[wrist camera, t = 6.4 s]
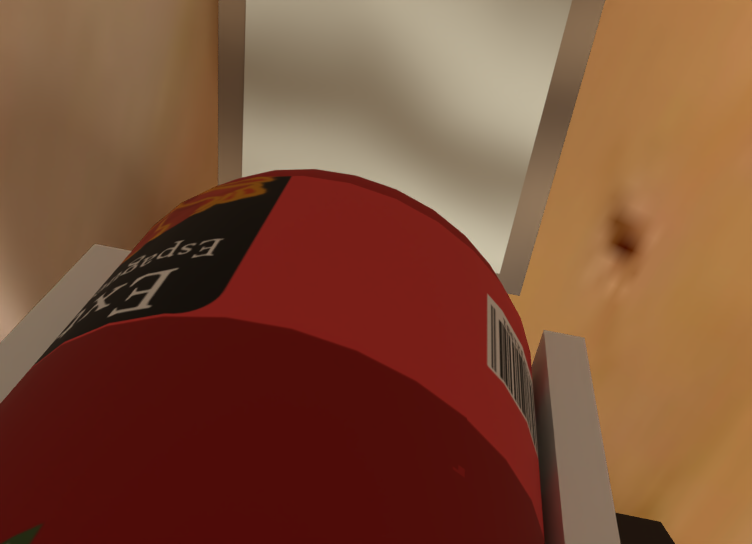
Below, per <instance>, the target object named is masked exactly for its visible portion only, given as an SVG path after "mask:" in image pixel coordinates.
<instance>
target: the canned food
mask: <svg viewBox="0 0 752 544" xmlns="http://www.w3.org/2000/svg"><path fill="white" fill-rule="evenodd" d="M0 544H545V539H544V526H543V513H542V499H541V486H540V473H539V460H538V447H537V434H536V421H535V408H534V395H533V382H532V369H531V355H530V350H529V346H528V343H527V339H526V336H525V332H524V328H523V325H522V321H521V318H520V316H519V314H518V312H517V311H516V309H515V307H514V305H513V303H512V301H511V300H510V298H509V296H508V294H507V292H506V290H505V289H504V287H503V285H502V283H501V282H500V280H499V278H498V277H497V275H496V274H495V272H494V270H493V269H492V267H491V265H490V264H489V263H488V262H487V260H486V259H485V258H484V257H483V256H482V255H481V253H480V252H479V251H478V250H477V249H476V247H475V246H474V245H473V244H472V243H471V242H470V240H469V239H468V238H467V237H466V236H465V235H464V234H463V233H462V232H460V231H459V230H458V229H457V228H456V227H454V226H453V225H452V224H451V223H449V222H448V221H447V220H446V219H444V218H443V217H442V216H441V215H439V214H438V213H437V212H436V211H435V210H433V209H431V208H430V207H428V206H426V205H424V204H422V203H420V202H419V201H417V200H415V199H413V198H411V197H410V196H408V195H406V194H404V193H402V192H401V191H399V190H397V189H394V188H391V187H388V186H385V185H382V184H380V183H377V182H374V181H371V180H368V179H365V178H362V177H359V176H356V175H350V174H344V173H337V172H331V171H325V170H318V169H295V170H273V171H268V172H264V173H260V174H255V175H251V176H246V177H242V178H238V179H235V180H232V181H230V182H227V183H224V184H221V185H219V186H216V187H214V188H212V189H210V190H208V191H205V192H203V193H201V194H199V195H197V196H195V197H193V198H191V199H189V200H187V201H184V202H182V203H181V204H179V205H178V206H177V207H176V208H175V209H173V210H172V211H171V212H170V213H169V214H167V215H166V216H165V217H164V218H162V219H161V220H160V221H159V222H158V223H156V224H155V225H154V226H153V227H152V228H151V229H150V231H149V232H148V233H147V234H146V235H145V236H144V238H143V239H142V240H141V241H140V242H139V243H138V244H137V246H136V247H135V248H134V249H133V250H132V251H131V253H130V254H129V255H128V256H127V257H126V258H125V260H124V261H123V262H122V263H121V264H120V265H119V267H118V268H117V269H116V270H115V271H114V272H113V273H112V275H111V276H110V277H109V278H108V279H107V280H106V282H105V283H104V284H103V285H102V286H101V287H100V289H99V290H98V291H97V292H96V293H95V294H94V296H93V297H92V298H91V299H90V300H89V301H88V302H87V304H86V305H85V306H84V307H83V308H82V309H81V311H80V312H79V313H78V314H77V315H76V316H75V318H74V319H73V320H72V321H71V322H70V323H69V324H68V326H67V327H66V328H65V329H64V330H63V331H62V333H61V334H60V335H59V336H58V337H57V338H56V340H55V341H54V342H53V343H52V344H51V345H50V347H49V348H48V349H47V350H46V351H45V352H44V353H43V355H42V356H41V357H40V358H39V359H38V360H37V362H36V363H35V364H34V365H33V366H32V367H31V369H30V370H29V371H28V372H27V373H26V374H25V375H24V377H23V378H22V379H21V380H20V381H19V382H18V384H17V385H16V386H15V387H14V388H13V389H12V391H11V392H10V393H9V394H8V395H7V396H6V398H5V399H4V400H3V401H2V402H1V403H0Z"/></svg>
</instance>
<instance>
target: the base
mask: <svg viewBox="0 0 752 544" xmlns="http://www.w3.org/2000/svg"><path fill="white" fill-rule="evenodd" d="M604 3H605V0H219V25H218V186H219V185H221V184H224V183H227V182H230V181H232V180H235V179H238V178H242V177H246V176H251V175H255V174H260V173H264V172H268V171H273V170H295V169H318V170H325V171H331V172H337V173H344V174H350V175H356V176H359V177H362V178H365V179H368V180H371V181H374V182H377V183H380V184H382V185H385V186H388V187H391V188H394V189H397V190H399V191H401V192H402V193H404V194H406V195H408V196H410V197H411V198H413V199H415V200H417V201H419V202H420V203H422V204H424V205H426V206H428V207H430V208H431V209H433V210H435V211H436V212H437V213H438V214H439V215H441V216H442V217H443V218H444V219H446V220H447V221H448V222H449V223H451V224H452V225H453V226H454V227H456V228H457V229H458V230H459V231H460V232H462V233H463V234H464V235H465V236H466V237H467V238H468V239H469V240H470V242H471V243H472V244H473V245H474V246H475V247H476V249H477V250H478V251H479V252H480V253H481V255H482V256H483V257H484V258H485V259H486V260H487V262H488V263H489V264H490V265H491V267H492V269H493V270H494V272H495V274H496V275H497V277H498V278H499V280H500V282H501V283H502V285H503V287H504V289H505V290H506V292H507V294H513V295H518V296H520V292H521V289H522V286H523V282H524V279H525V275H526V272H527V268H528V265H529V261H530V258H531V254H532V251H533V248H534V244H535V241H536V237H537V234H538V230H539V227H540V223H541V220H542V217H543V213H544V210H545V206H546V203H547V199H548V196H549V192H550V189H551V186H552V182H553V179H554V175H555V172H556V168H557V165H558V161H559V158H560V154H561V151H562V148H563V144H564V141H565V137H566V134H567V130H568V127H569V123H570V120H571V117H572V113H573V110H574V106H575V103H576V99H577V96H578V92H579V89H580V86H581V82H582V79H583V75H584V72H585V68H586V65H587V61H588V58H589V54H590V51H591V48H592V44H593V41H594V37H595V34H596V30H597V27H598V23H599V20H600V17H601V13H602V10H603V6H604Z"/></svg>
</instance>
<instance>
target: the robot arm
mask: <svg viewBox="0 0 752 544" xmlns="http://www.w3.org/2000/svg"><path fill="white" fill-rule="evenodd" d="M130 253H131V251H130V250H125V249H120V248H114V247H109V246H104V245H99V244H94V245H93V246H92V247H91V248H90V249H89V250H88V251H87V252H86V253H85V254H84V255H83V256H82V257H81V259H80V260H79V261H78V262H77V263H76V264H75V265H74V266H73V267H72V268H71V269H70V270H69V271H68V272H67V273H66V274H65V275H64V276H63V277H62V278H61V279H60V281H59V282H58V283H57V284H56V285H55V286H54V287H53V288H52V289H51V290H50V291H49V292H48V293H47V294H46V295H45V296H44V297H43V298H42V299H41V300H40V302H39V303H38V304H37V305H36V306H35V307H34V308H33V309H32V310H31V311H30V312H29V313H28V314H27V315H26V316H25V317H24V318H23V319H22V320H21V321H20V322H19V324H18V325H17V326H16V327H15V328H14V329H13V330H12V331H11V332H10V333H9V334H8V335H7V336H6V337H5V338H4V339H3V340H2V341H1V342H0V403H1V402H2V401H3V400H4V399H5V398H6V396H7V395H8V394H9V393H10V392H11V391H12V389H13V388H14V387H15V386H16V385H17V384H18V382H19V381H20V380H21V379H22V378H23V377H24V375H25V374H26V373H27V372H28V371H29V370H30V369H31V367H32V366H33V365H34V364H35V363H36V362H37V360H38V359H39V358H40V357H41V356H42V355H43V353H44V352H45V351H46V350H47V349H48V348H49V347H50V345H51V344H52V343H53V342H54V341H55V340H56V338H57V337H58V336H59V335H60V334H61V333H62V331H63V330H64V329H65V328H66V327H67V326H68V324H69V323H70V322H71V321H72V320H73V319H74V318H75V316H76V315H77V314H78V313H79V312H80V311H81V309H82V308H83V307H84V306H85V305H86V304H87V302H88V301H89V300H90V299H91V298H92V297H93V296H94V294H95V293H96V292H97V291H98V290H99V289H100V287H101V286H102V285H103V284H104V283H105V282H106V280H107V279H108V278H109V277H110V276H111V275H112V273H113V272H114V271H115V270H116V269H117V268H118V267H119V265H120V264H121V263H122V262H123V261H124V260H125V258H126V257H127V256H128V255H129V254H130ZM531 369H532V382H533V395H534V408H535V421H536V434H537V447H538V460H539V473H540V486H541V499H542V513H543V526H544V539H545V544H675V543H674V542H673V540H672V539H671V537H670V535H669V534H668V532H667V531H666V529H665V528H664V526H663V525H662V523H661V522H658V521H653V520H648V519H643V518H639V517H634V516H629V515H624V514H619V513H615V509H614V503H613V498H612V492H611V486H610V481H609V475H608V469H607V464H606V458H605V452H604V446H603V441H602V435H601V429H600V424H599V418H598V412H597V407H596V401H595V395H594V390H593V384H592V378H591V373H590V367H589V361H588V356H587V350H586V344H585V339H584V338H582V337H577V336H572V335H567V334H562V333H556V332H551V331H546V330H544V331H543V334H542V337H541V340H540V343H539V346H538V349H537V352H536V355H535V358H534V361H533V364H532V367H531Z"/></svg>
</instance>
